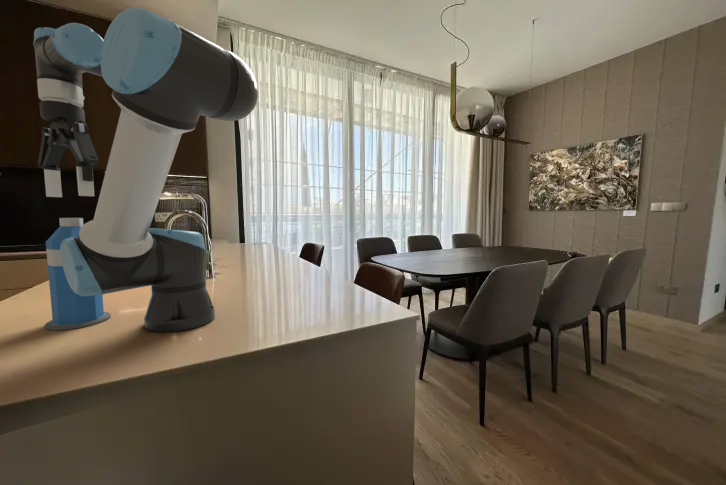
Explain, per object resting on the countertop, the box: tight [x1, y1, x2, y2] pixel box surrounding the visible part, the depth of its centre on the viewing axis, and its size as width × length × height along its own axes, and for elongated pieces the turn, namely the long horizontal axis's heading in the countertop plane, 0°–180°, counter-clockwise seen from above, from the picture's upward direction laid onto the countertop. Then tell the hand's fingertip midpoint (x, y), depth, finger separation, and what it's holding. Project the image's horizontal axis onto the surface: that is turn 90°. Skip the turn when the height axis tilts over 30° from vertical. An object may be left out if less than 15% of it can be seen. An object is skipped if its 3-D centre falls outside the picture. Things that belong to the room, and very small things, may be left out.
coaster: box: [44, 311, 111, 332], centre depth 76 cm, size 12×12×1 cm
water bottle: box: [45, 217, 105, 325], centre depth 75 cm, size 9×9×25 cm
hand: (70, 196), depth 73 cm, fingers open, 13 cm apart
